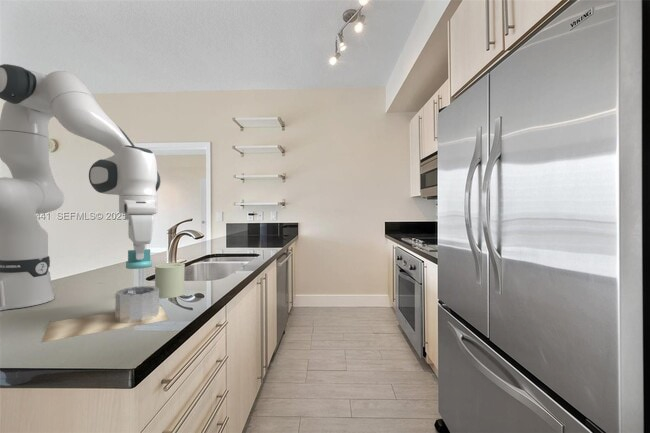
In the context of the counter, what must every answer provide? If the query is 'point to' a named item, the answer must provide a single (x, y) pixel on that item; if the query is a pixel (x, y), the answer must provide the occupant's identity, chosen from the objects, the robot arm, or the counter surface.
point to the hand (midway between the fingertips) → (138, 258)
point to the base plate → (91, 325)
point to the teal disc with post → (138, 264)
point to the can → (170, 279)
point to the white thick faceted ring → (137, 304)
